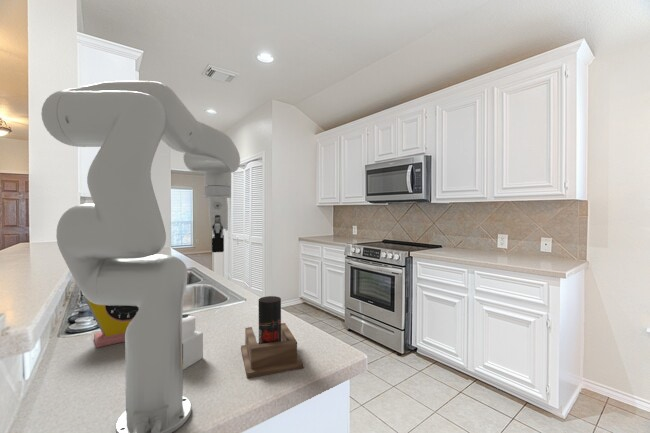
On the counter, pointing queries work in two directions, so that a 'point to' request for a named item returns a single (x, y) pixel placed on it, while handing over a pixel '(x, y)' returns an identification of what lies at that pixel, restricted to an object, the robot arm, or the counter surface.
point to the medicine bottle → (190, 342)
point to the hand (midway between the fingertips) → (218, 249)
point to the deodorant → (269, 319)
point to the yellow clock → (111, 322)
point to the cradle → (270, 354)
